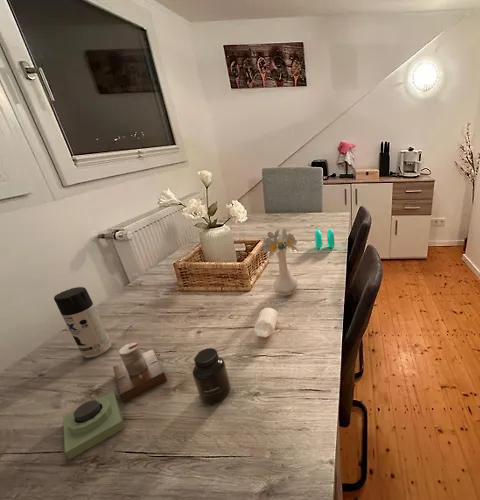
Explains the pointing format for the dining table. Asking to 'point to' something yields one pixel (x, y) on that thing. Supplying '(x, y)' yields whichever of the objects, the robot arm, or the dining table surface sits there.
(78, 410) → the button
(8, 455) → the dining table surface
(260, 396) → the dining table surface
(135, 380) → the dial panel
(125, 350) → the dial knob
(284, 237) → the flower vase
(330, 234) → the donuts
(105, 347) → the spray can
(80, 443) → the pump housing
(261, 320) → the roll
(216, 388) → the supplement bottle
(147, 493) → the dining table surface
